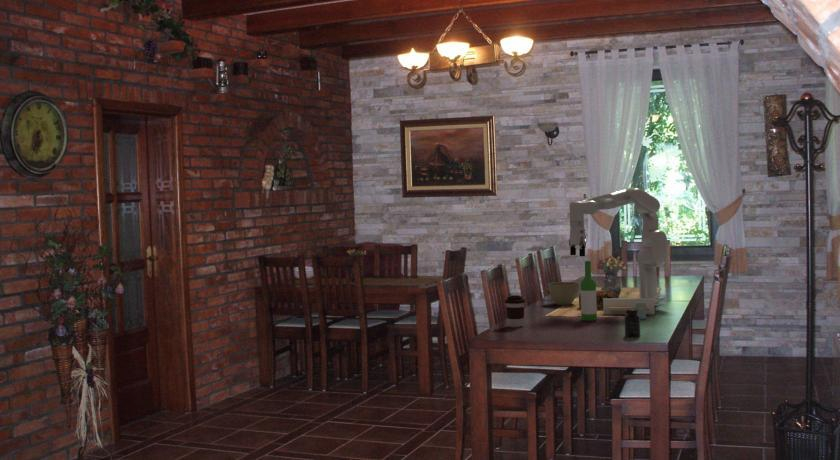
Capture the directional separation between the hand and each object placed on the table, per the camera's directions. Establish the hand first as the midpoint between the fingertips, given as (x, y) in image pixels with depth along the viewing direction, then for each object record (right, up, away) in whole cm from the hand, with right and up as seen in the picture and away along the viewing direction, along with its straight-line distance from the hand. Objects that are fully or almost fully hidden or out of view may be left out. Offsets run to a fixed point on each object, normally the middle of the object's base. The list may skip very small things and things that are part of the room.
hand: (577, 255), depth 456 cm
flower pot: (-2, -29, +31) cm, 43 cm away
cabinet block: (+27, -31, -28) cm, 50 cm away
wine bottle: (0, -32, -31) cm, 44 cm away
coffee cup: (-38, -34, -42) cm, 66 cm away
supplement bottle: (+10, -34, -79) cm, 87 cm away
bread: (+13, -30, +11) cm, 34 cm away
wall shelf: (+24, -30, -15) cm, 41 cm away
